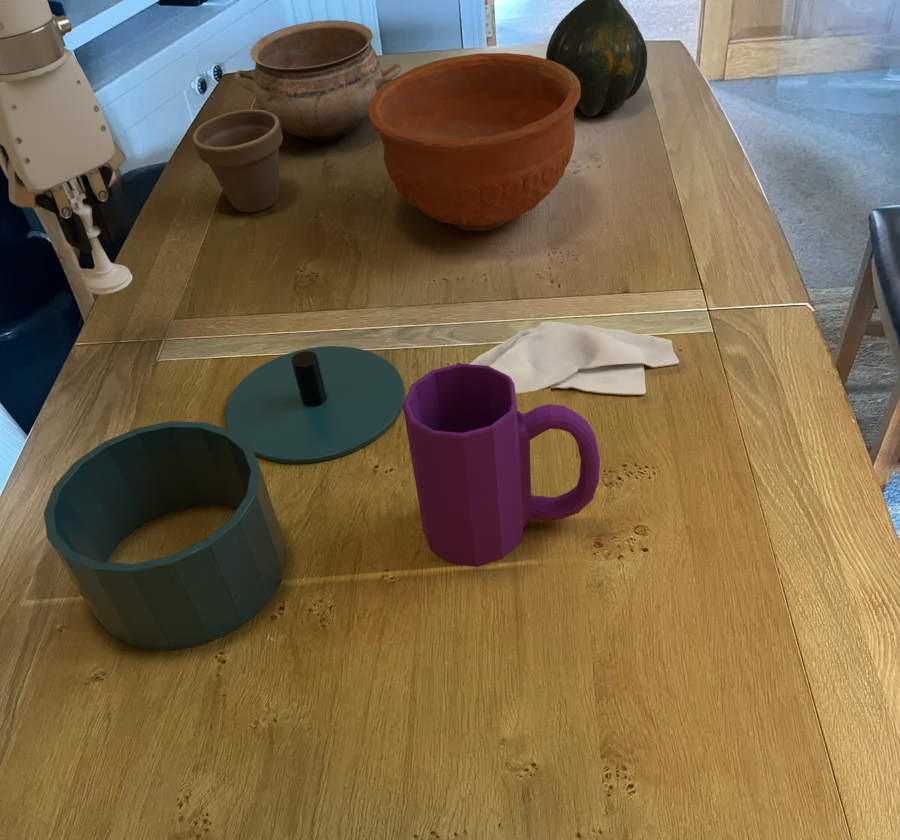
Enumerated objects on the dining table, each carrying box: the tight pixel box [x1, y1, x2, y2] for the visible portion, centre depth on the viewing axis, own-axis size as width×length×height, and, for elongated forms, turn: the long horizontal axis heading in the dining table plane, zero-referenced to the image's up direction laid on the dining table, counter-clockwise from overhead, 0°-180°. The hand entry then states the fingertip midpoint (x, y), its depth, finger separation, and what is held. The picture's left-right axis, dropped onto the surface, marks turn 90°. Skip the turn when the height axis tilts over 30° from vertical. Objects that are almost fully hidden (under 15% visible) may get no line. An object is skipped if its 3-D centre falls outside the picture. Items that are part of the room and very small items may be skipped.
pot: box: [43, 420, 287, 651], centre depth 80 cm, size 18×18×10 cm
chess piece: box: [67, 188, 133, 295], centre depth 96 cm, size 5×5×10 cm
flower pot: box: [192, 109, 284, 213], centre depth 125 cm, size 12×11×10 cm
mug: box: [402, 363, 601, 568], centre depth 78 cm, size 9×16×15 cm, turn 92°
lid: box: [224, 345, 405, 465], centre depth 95 cm, size 19×19×6 cm
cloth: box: [469, 321, 680, 396], centre depth 98 cm, size 26×14×2 cm, turn 88°
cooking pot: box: [234, 19, 402, 143], centre depth 137 cm, size 25×19×12 cm
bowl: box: [368, 52, 581, 232], centre depth 115 cm, size 25×25×15 cm
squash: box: [545, 0, 648, 117], centre depth 135 cm, size 14×15×15 cm
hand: (93, 242), depth 97 cm, fingers closed on chess piece
